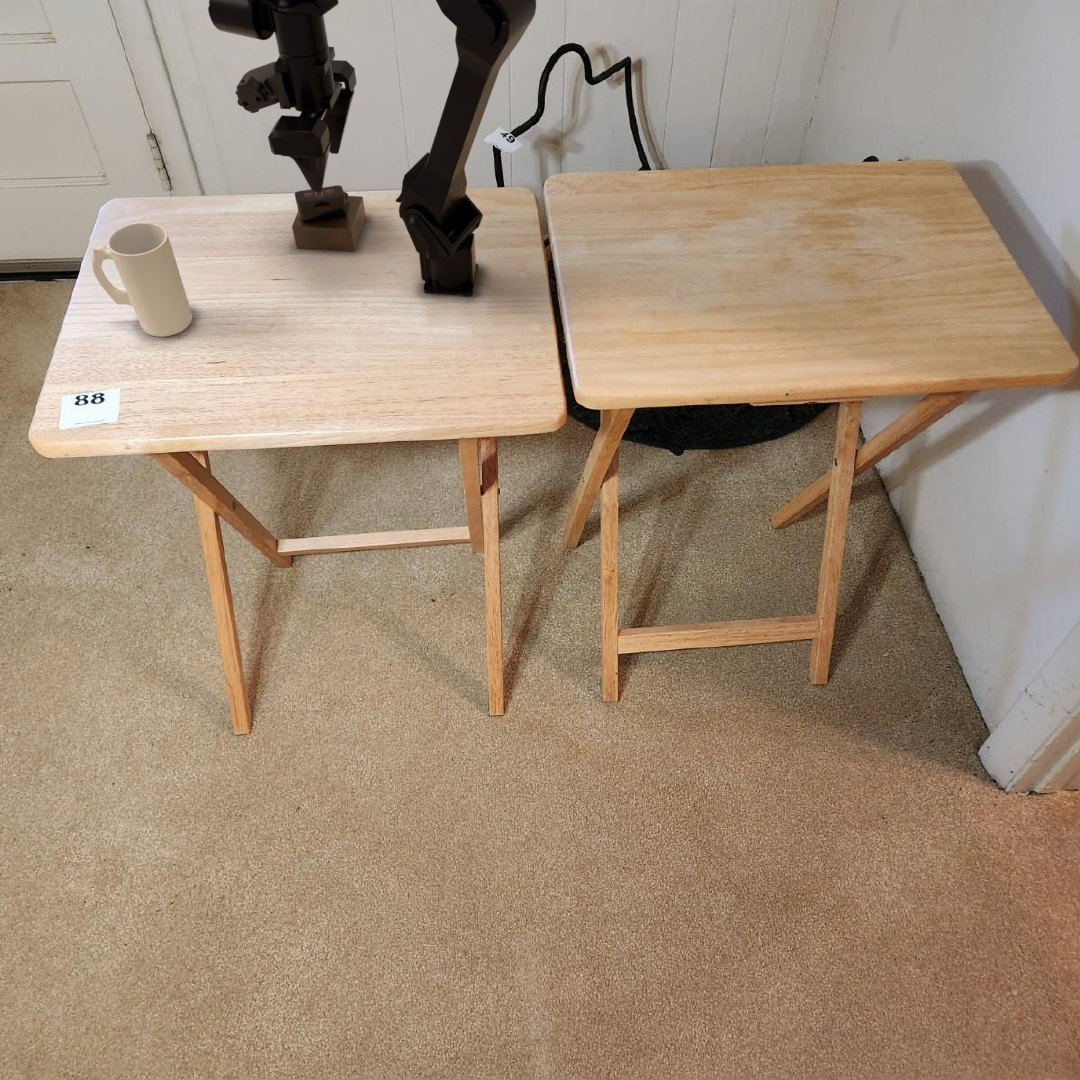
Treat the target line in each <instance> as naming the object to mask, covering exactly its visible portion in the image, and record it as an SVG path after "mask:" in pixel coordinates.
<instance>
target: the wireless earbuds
mask: <svg viewBox="0 0 1080 1080" xmlns="http://www.w3.org/2000/svg"><path fill="white" fill-rule="evenodd" d="M348 196H349V194H348V193H347V192H346V191H344V189H343V186H342V185H340V184H339V185H329V186H323V187H322V191H321V192H313V191H312V189H311V188H310V189H304V190H298V191H296V192H294V198H295V204H296V208H297V213H299V217H300V220H301V221H302V222H311V221H317V220H324V219H330V218H336V217H343V216H345V215H346V214H347V208H346V199H347V198H348Z"/></svg>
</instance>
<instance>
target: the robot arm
mask: <svg viewBox="0 0 1080 1080" xmlns="http://www.w3.org/2000/svg"><path fill="white" fill-rule="evenodd" d="M435 2H436V4H437V5H438V7H439V9H440V11H441V12H442V15H444V16H445V17H446V19H448V20H449V21H450V22H451V23H452V25H454V26H455V27H456V28H455V30H456V31H455V38H454V41H455V42H454V44H455V48H456V53H457V58H458V59H457V60H458V61H457V65H456V68H455V72H454V75H453V79H452V81H451V84H450V88H449V91H448V94H447V97H446V100H445V103H444V106H443V110H442V113H441V116H440V119H439V122H438V125H437V130H436V132H435V135H434V137H433V141H432V144H431V147H430V150H429V152H426V153H425V154H424V155H423V156H422V157H421V158H420V159H418V161H417V162H416V163H415V164H414V165H412V167H411V168H410V169H409V170H408V171H407V172H406V173H405V174H404V176H403V178H402V183H401V185H402V186H401V191H400V194H399V196H398V197H397V198H395V202H396V203H399V207H398V215H399V218H400V220H401V219H402V222H403V223H404V226H405V228H406V230H407V233H408V235H409V237H410V240H411V242H412V244H413V246H414V249H415V252H416V253H418V259H419V267H420V268H419V269H420V278H421V280H422V281H424V283H423V284H424V285H423V288H422V289H423V292H424V293H425V294H433V295H447V296H449V295H450V296H465V297H466V296H468V297H470V296H472V295H474V291H475V288H476V282H477V277H478V273H479V264H478V263H476V259H477V258H476V242H475V241H476V239H475V233H474V232H475V231H476V230H477V229H479V227H480V226H481V223H482V220H483V218H484V214H483V213H482V212H481V211H480V209H479V208H478V207H477V206H476V204H475V203H474V202H473V200H471V198H470V197H469V196H468V194H466V193H467V192H466V191H467V187H468V179H467V175H466V171H465V168H466V165H467V162H468V159H469V157H470V153H471V150H472V148H473V145H474V142H475V139H476V137H477V134H478V131H479V128H480V126H481V122H482V120H483V117H484V114H485V111H486V109H487V106H488V104H489V100H490V97H491V95H492V92H493V90H494V87H495V84H496V81H497V78H498V76H499V73H500V70H501V68H502V66H503V65H504V63H506V61H507V59H508V58H509V56H511V54H512V52H513V51H514V49H515V48H516V46H517V45H518V44H519V42H520V41H521V40H522V37H523V36H524V34H525V33H526V31H527V29H528V28H529V26H530V25H531V22H532V21H533V19H534V17H535V15H536V11H537V0H435ZM338 5H339V0H208V7H207V12H208V15H209V18H210V21H211V23H212V24H213V26H214V27H215V28H216V29H217V30H219V31H220V32H224V33H228V34H233V35H238V36H242V37H246V38H251V39H255V40H260V41H266V40H269V39H270V38H271V37H272V36H273V35H275V41H276V45H277V50H278V55H279V56H278V58H277V60H275V61H272V62H269V63H266V64H264V65H261V66H258V67H255V68H252V69H250V70H248V71H247V72H245V73H244V74H243V75H242V77H241V78H240V80H239V82H238V83H237V85H236V91H235V92H234V93H235V94H236V97H237V101H236V102H237V105H238V106H240V107H242V108H243V109H244V110H245V111H247V112H249V113H250V114H256V113H258V112H259V111H260V110H261V109H265V108H268V107H270V106H275V105H277V104H278V103H279V109H280V110H291V109H292V108H293V109H294V110H295V111H296V112H299V115H281V116H279V118H278V119H277V120H276V122H275V123H274V125H273V126H272V129H271V131H270V132H269V134H268V136H267V139H268V143H269V147H270V152H271V153H272V154H274V156H281V157H289V158H291V160H293V161H294V163H295V164H296V166H297V167H298V168H299V170H300V172H301V174H302V175H303V177H304V179H305V181H306V182H307V184H308V186H309V188H310V189H312V191H313V192H321V191H322V188H323V187H324V183H325V182H324V181H325V178H326V177H325V176H326V170H327V167H328V160H329V156H330V153H331V154H334V155H337V154H339V152H340V150H341V146H342V141H343V138H344V133H345V129H346V125H347V121H348V117H349V114H350V110H351V106H352V103H353V98H354V96H355V88H356V85H357V82H358V81H357V76H356V69H355V67H354V66H353V65H352V64H351V63H350V62H349V61H348V60H343V59H342V60H340V59H339V60H338V59H336V60H335V58H336V57H335V56H336V51H335V47H334V46H329V41H328V35H327V29H326V23H325V16H324V15H326V14H327V13H328V12H330V11H331V10H333V9H334V8H335V7H336V6H338ZM343 84H344V87H343Z"/></svg>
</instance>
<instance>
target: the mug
mask: <svg viewBox="0 0 1080 1080" xmlns="http://www.w3.org/2000/svg"><path fill="white" fill-rule="evenodd" d="M173 250H174V249H173V247H172V243H171V241H170V238H169V235H168V231H167V229H166V228H165V227H163V226H162V225H160V224H159V223H154V222H150V221H149V222H147V221H140V222H139V221H138V222H134V223H128V224H126V225H123V226H121V227H119V228H117V229H116V230H114V231H113V232H111V234H110V235H109V236H108V238H107V240H106V245H103V244H93V246H92V258H91V268H92V271H93V274H94V277H95V278H96V281H97V282H98V283H99V285H100V287H101V288H102V289H103V291H105V292H106V294H107V295H108V297H110V298H111V299H112V300H113V302H114V303H115V304H116V305H126V306H129V307H132V308H133V310H134V313H135V315H136V317H137V320H138V322H139V324H140V327H141V329H142V330H143V331H144V332H145V333H146V334H148V335H150V336H153V337H160V338H161V337H162V338H163V337H170V336H174V335H177V334H179V333H181V332H183V331H185V330H186V329H187V328H189V326H190V325H191V323H192V321H193V314H192V310H191V305H190V303H189V299H188V296H187V293H186V290H185V287H184V284H183V280H182V277H181V274H180V270H179V266H178V264H177V261H176V257H175V254H174V251H173ZM106 260H111V261H113V263H114V265H115V267H116V270H117V272H118V274H119V277H120V279H121V281H122V284H123V286H124V289H125V291H124V290H120V289H119V288H117V287H116V286H114V284H112V282H110V280H109V279H108V277H107V276H106V275H105V272H104V270H103V262H104V261H106Z"/></svg>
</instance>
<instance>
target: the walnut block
mask: <svg viewBox="0 0 1080 1080" xmlns="http://www.w3.org/2000/svg"><path fill="white" fill-rule="evenodd" d="M346 208H347V214H346V215H345V216H343V217H336V218H330V219H324V220H317V221H311V222H302V221H301V220H300V217H299V213H298V212H297V213H296V215H295V218H294V220H293V223H292V225H291V228H292V233H293V238H294V244H295V247H296V249H297V250H298V249H301V250H316V251H317V250H318V251H332V252H334V251H336V252H349V253H350V252H351V253H354V252H355V251H356V249H357V245H358V243H359V240H360V237H361V234H362V232H363V228H364V226H365V222H366V218H367V217H366V210H365V203H364V197H363V196H361V195H360V196H358V195H348V198H347V199H346Z"/></svg>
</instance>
